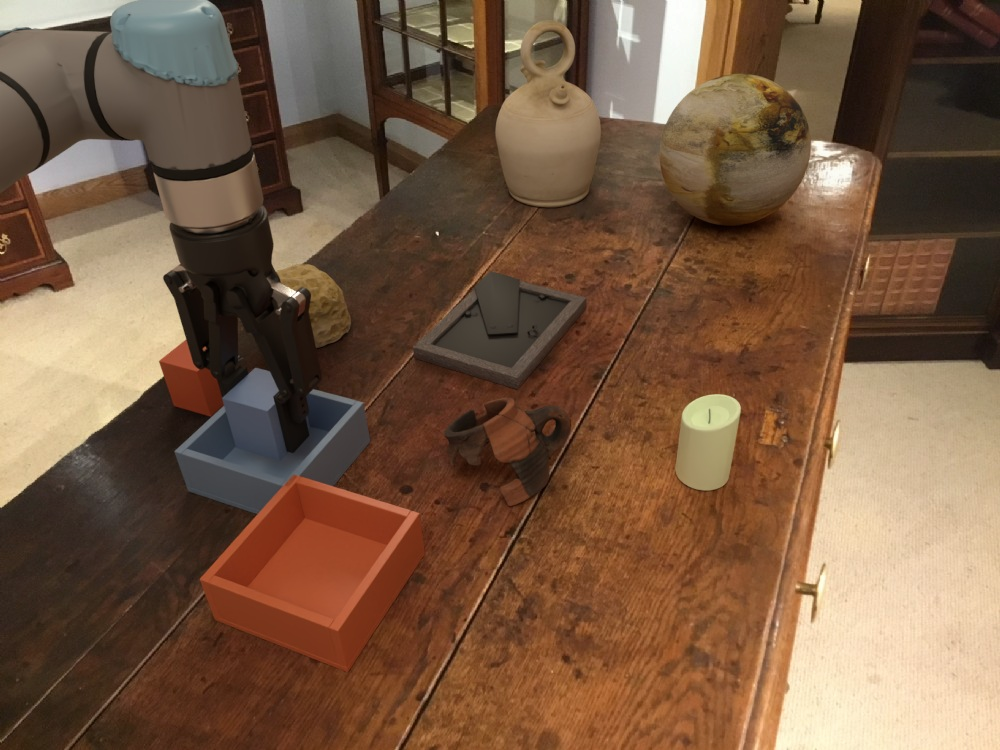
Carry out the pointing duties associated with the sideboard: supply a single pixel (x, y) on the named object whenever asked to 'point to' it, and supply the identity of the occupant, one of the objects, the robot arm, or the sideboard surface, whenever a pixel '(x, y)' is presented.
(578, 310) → the picture frame
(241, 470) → the slate bin
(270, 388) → the slate block
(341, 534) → the rust bin
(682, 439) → the candle
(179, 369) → the rust block
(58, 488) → the sideboard surface
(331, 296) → the rock
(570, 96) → the jug
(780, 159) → the decorative sphere
